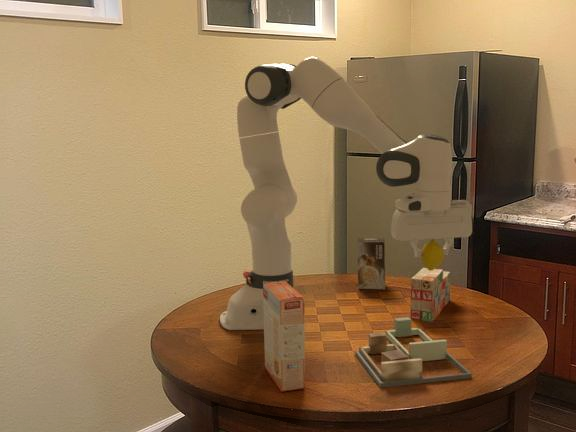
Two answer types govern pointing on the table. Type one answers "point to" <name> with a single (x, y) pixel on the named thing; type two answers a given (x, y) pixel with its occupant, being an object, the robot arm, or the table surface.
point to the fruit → (432, 255)
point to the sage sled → (417, 349)
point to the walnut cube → (393, 356)
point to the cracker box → (284, 335)
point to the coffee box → (371, 263)
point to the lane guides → (464, 375)
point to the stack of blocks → (429, 293)
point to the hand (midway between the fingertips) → (431, 255)
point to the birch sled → (390, 368)
